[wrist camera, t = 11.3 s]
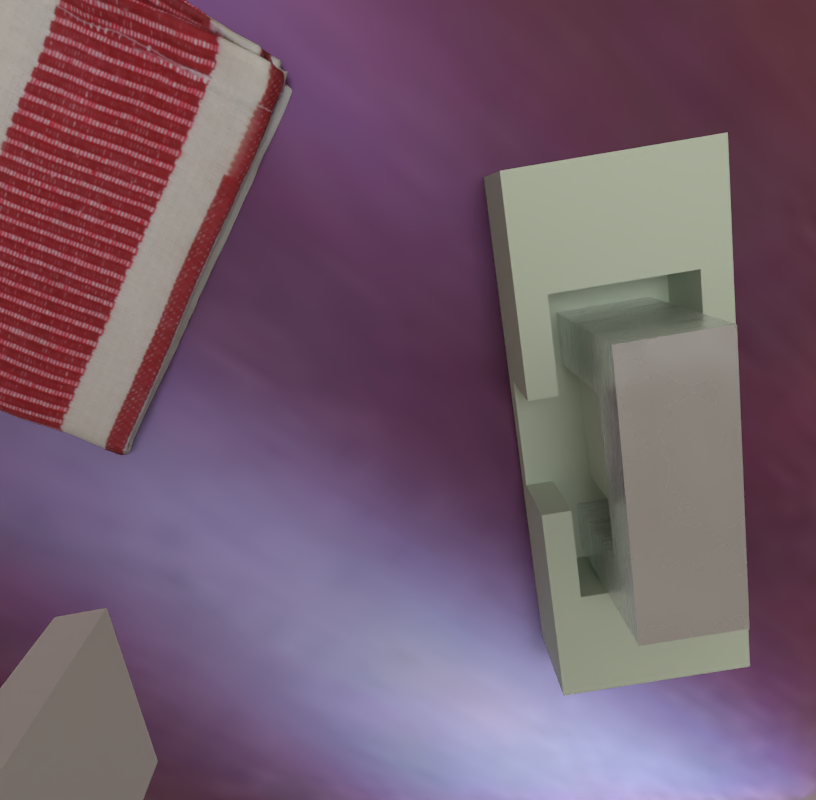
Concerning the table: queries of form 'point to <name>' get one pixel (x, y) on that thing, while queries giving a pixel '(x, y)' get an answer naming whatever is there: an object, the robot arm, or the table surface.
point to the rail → (570, 396)
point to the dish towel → (116, 196)
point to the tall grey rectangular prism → (664, 465)
